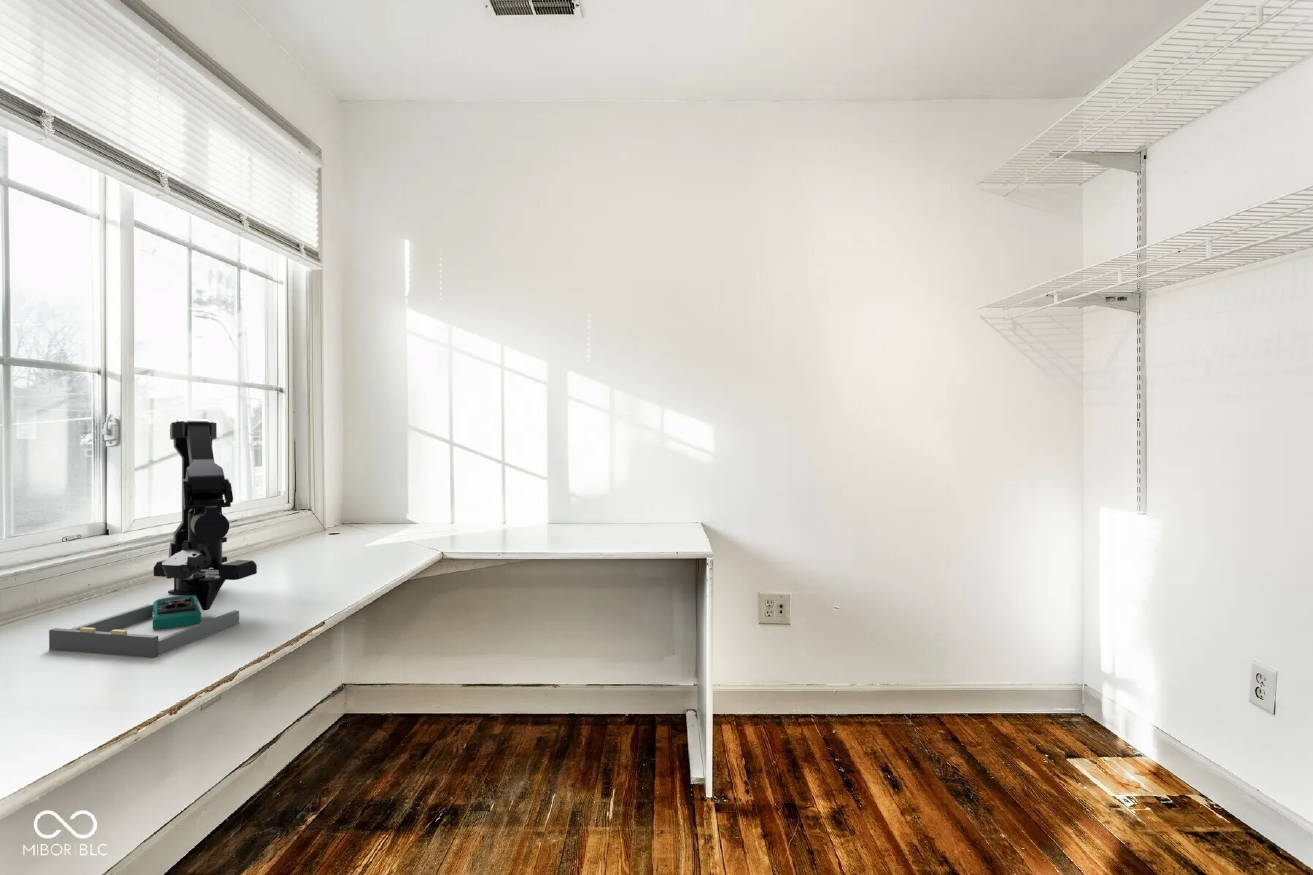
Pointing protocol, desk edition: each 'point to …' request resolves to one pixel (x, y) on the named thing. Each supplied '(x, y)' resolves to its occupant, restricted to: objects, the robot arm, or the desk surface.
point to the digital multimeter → (176, 612)
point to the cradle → (132, 635)
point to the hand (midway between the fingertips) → (206, 609)
